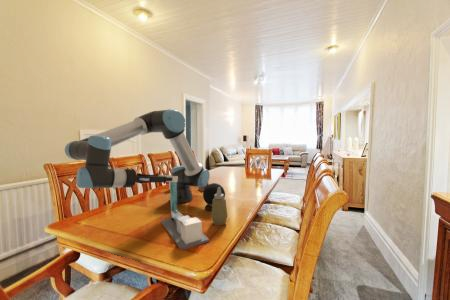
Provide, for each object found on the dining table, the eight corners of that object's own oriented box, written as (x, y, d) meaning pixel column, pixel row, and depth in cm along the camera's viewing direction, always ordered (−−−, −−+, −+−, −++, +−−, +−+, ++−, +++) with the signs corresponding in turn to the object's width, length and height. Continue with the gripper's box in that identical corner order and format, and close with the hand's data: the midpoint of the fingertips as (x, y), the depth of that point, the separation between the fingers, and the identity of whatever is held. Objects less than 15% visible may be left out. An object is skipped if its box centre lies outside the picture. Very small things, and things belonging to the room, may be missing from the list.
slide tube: (170, 218, 106) (169, 180, 104) (176, 217, 107) (175, 179, 106) (180, 230, 92) (179, 187, 91) (187, 228, 94) (186, 186, 93)
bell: (205, 192, 158) (205, 183, 157) (195, 190, 166) (194, 181, 165) (216, 189, 167) (216, 180, 166) (205, 187, 174) (205, 178, 174)
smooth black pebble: (222, 203, 132) (222, 180, 131) (227, 211, 119) (227, 185, 118) (201, 205, 129) (201, 181, 128) (204, 213, 116) (204, 187, 115)
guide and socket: (161, 222, 105) (160, 205, 104) (183, 217, 111) (183, 201, 110) (181, 250, 79) (180, 228, 78) (209, 241, 85) (208, 221, 85)
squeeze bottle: (221, 228, 97) (221, 190, 96) (208, 224, 102) (207, 188, 100) (230, 221, 104) (230, 186, 103) (217, 218, 109) (216, 184, 107)
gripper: (115, 184, 91) (164, 184, 107) (130, 190, 77) (183, 188, 93) (117, 167, 91) (165, 169, 107) (132, 170, 78) (185, 172, 94)
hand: (173, 178), depth 100 cm, fingers open, 5 cm apart
